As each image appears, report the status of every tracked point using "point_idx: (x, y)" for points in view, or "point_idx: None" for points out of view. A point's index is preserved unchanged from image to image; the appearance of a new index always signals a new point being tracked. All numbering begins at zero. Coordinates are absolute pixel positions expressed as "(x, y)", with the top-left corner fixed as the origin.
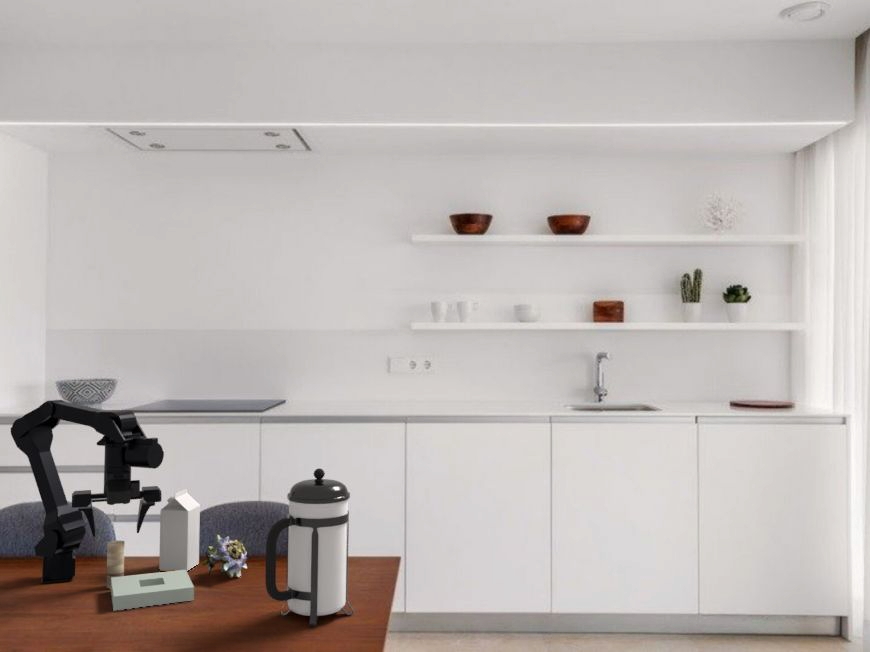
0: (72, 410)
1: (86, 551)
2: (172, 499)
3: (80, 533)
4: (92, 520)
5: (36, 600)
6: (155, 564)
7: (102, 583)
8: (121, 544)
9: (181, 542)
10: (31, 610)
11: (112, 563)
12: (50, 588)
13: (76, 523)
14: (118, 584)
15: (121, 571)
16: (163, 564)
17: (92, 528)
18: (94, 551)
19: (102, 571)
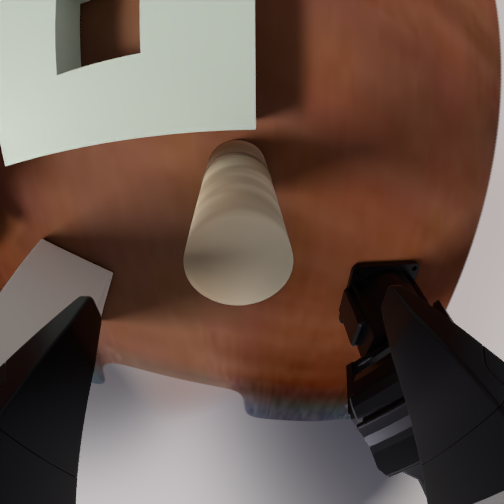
0: None
1: (286, 412)
2: None
3: (374, 391)
4: (479, 367)
5: (453, 133)
6: (138, 330)
7: None
8: (201, 225)
9: (13, 306)
10: (466, 55)
11: (253, 172)
12: (409, 223)
13: (402, 421)
14: (227, 17)
15: (211, 166)
16: (94, 280)
17: (439, 319)
18: (273, 411)
19: (267, 319)
